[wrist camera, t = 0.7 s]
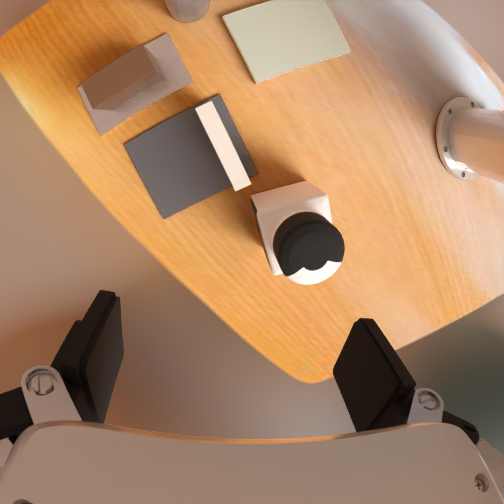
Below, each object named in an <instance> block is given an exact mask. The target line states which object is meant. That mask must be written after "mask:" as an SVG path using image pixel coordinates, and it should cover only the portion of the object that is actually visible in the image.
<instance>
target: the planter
mask: <svg viewBox="0 0 504 504" xmlns="http://www.w3.org/2000/svg"><path fill="white" fill-rule="evenodd" d="M164 2H165V4H166V6H167V8H168V11H169V13H170V15H171V16H172V17H173V18H174V19H175V20H177V21H179V22H185V23H187V22H194V21H196V20H199V19H200V18H202V17H203V16H204V15H205V14H206V13H207V11H208V8H209V0H164Z"/></svg>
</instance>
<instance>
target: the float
mask: <svg viewBox="0 0 504 504" xmlns="http://www.w3.org/2000/svg"><path fill="white" fill-rule="evenodd" d="M192 83H194V82H193V80H192V78H191V76H190V74H189V72H188V70H187V68H186V66H185V64H184V62H183V61H182V59H181V57H180V55H179V53H178V51H177V49H176V47H175V45H174V44H173V42H172V40H171V38H170V36H169V34H168V33H166V34H164V35H162V36H160V37H159V38H157V39H155V40H153V41H151V42H149V43H147V44H145V45H143V44H142V45H140V46H138V47H136V48H134V49H133V50H131V51H129V52H128V53H126V54H124V55H123V56H121V57H119V58H118V59H116V60H115V61H113V62H111V63H110V64H108V65H107V66H105V67H104V68H102V69H101V70H99V71H98V72H96V73H95V74H93V75H92V76H91V77H89V78H88V79H86V80H85V81H84V82H82V83H81V86H80V87H78V91H79V93H80V95H81V97H82V99H83V101H84V103H85V105H86V108H87V110H88V112H89V114H90V116H91V118H92V120H93V122H94V124H95V126H96V128H97V130H98V132H99V134H100V136H103V135H104V134H106V133H107V132H109V131H110V130H112V129H113V128H115V127H116V126H118V125H119V124H121V123H122V122H124V121H126V120H127V119H129V118H130V117H132V116H134V115H135V114H137V113H139V112H140V111H142V110H144V109H145V108H147V107H149V106H150V105H152V104H154V103H156V102H158V101H159V100H161V99H163V98H165V97H167V96H168V95H170V94H172V93H174V92H176V91H178V90H180V89H182V88H184V87H186V86H188V85H190V84H192Z"/></svg>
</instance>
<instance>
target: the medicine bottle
mask: <svg viewBox="0 0 504 504" xmlns="http://www.w3.org/2000/svg"><path fill="white" fill-rule="evenodd" d="M250 201H251V205H252V209H253V212H254V216H255V220H256V223H257V227H258V231H259V234H260V238H261V242H262V245H263V249H264V252H265V254H266V257H267V260H268V263H269V266H270V268H271V271H272V273H273V274H274V275H279V274H282V273H283V274H284V275H285V276H286V277H287V278H289V279H290V280H292V281H294V282H296V283H299V284H315V283H318V282H321V281H323V280H325V279H327V278H328V277H330V276H331V275H332V274H333V273H334V272H335V271H336V270H337V269H338V267H339V266H340V264H341V262H342V259H343V256H344V249H345V247H344V240H343V238H342V235H341V234H340V232H339V231H338V229H337V228H336V227H335V226H333V224H332V218H331V212H330V207H329V201H328V196H327V194H326V193H324V192H323V191H321V190H320V189H318V188H317V187H316V186H314V185H313V184H311V183H310V182H308V181H302V182H299V183H295V184H291V185H287V186H283V187H279V188H276V189H272V190H268V191H265V192H261V193H257V194H254V195H251V196H250Z"/></svg>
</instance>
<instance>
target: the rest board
mask: <svg viewBox="0 0 504 504" xmlns="http://www.w3.org/2000/svg"><path fill="white" fill-rule="evenodd" d="M222 20H223V22H224V24H225V26H226V27H227V29H228V31H229V33H230V35H231V37H232V39H233V41H234V42H235V44H236V46H237V48H238V50H239V52H240V54H241V56H242V58H243V60H244V62H245V64H246V66H247V68H248V70H249V72H250V74H251V76H252V78H253V80H254V82H255V84H258V83H260V82H263V81H265V80H268V79H271V78H273V77H276V76H279V75H282V74H284V73H287V72H290V71H293V70H296V69H299V68H302V67H305V66H309V65H312V64H315V63H318V62H322V61H325V60H329V59H332V58H336V57H339V56H343V55H347V54H350V53H352V51H351V49H350V47H349V45H348V43H347V41H346V39H345V36H344V34H343V32H342V30H341V28H340V26H339V24H338V22H337V21H336V19H335V17H334V15H333V13H332V11H331V9H330V7H329V6H328V4H327V2H326V0H271V1H268V2H264V3H261V4H257V5H254V6H251V7H248V8H244V9H241V10H238V11H235V12H232V13H230V14H227V15H224V16H222Z"/></svg>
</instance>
